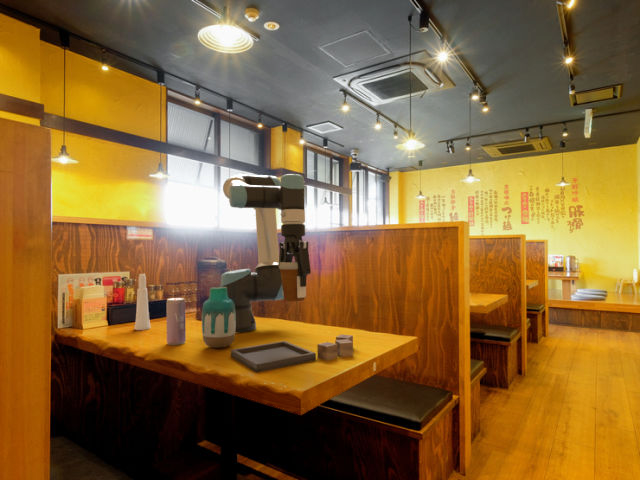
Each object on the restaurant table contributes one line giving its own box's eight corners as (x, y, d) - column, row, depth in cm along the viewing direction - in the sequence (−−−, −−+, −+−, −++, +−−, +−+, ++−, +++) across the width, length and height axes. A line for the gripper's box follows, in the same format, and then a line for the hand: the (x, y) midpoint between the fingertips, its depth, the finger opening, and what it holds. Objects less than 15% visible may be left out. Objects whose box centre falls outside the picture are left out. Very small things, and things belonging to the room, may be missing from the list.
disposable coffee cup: (306, 302, 117) (305, 262, 117) (275, 302, 118) (274, 262, 119) (312, 298, 126) (311, 261, 126) (283, 298, 128) (283, 261, 128)
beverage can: (180, 340, 136) (180, 297, 136) (188, 343, 132) (188, 298, 132) (163, 343, 132) (163, 299, 132) (171, 346, 127) (171, 300, 128)
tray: (230, 356, 114) (230, 349, 114) (284, 347, 124) (284, 340, 124) (256, 372, 99) (256, 364, 99) (315, 360, 109) (315, 353, 109)
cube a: (317, 358, 112) (317, 344, 112) (327, 355, 114) (327, 341, 114) (327, 361, 109) (327, 346, 109) (337, 358, 111) (337, 344, 112)
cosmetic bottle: (148, 329, 155) (148, 274, 155) (132, 330, 154) (131, 274, 154) (152, 326, 161) (152, 273, 161) (136, 327, 160) (136, 273, 160)
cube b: (335, 353, 116) (335, 340, 116) (347, 352, 117) (347, 339, 117) (340, 357, 112) (340, 343, 112) (353, 355, 114) (352, 342, 114)
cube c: (336, 350, 120) (335, 337, 120) (341, 347, 124) (341, 334, 124) (348, 351, 118) (347, 338, 119) (353, 348, 122) (352, 335, 122)
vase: (200, 345, 128) (199, 287, 129) (232, 341, 133) (232, 285, 133) (204, 353, 119) (203, 290, 119) (238, 349, 123) (238, 288, 123)
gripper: (266, 225, 129) (267, 294, 129) (300, 221, 112) (302, 300, 111) (286, 226, 134) (287, 292, 133) (322, 221, 116) (323, 298, 116)
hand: (294, 296), depth 122 cm, fingers closed on disposable coffee cup, 8 cm apart
